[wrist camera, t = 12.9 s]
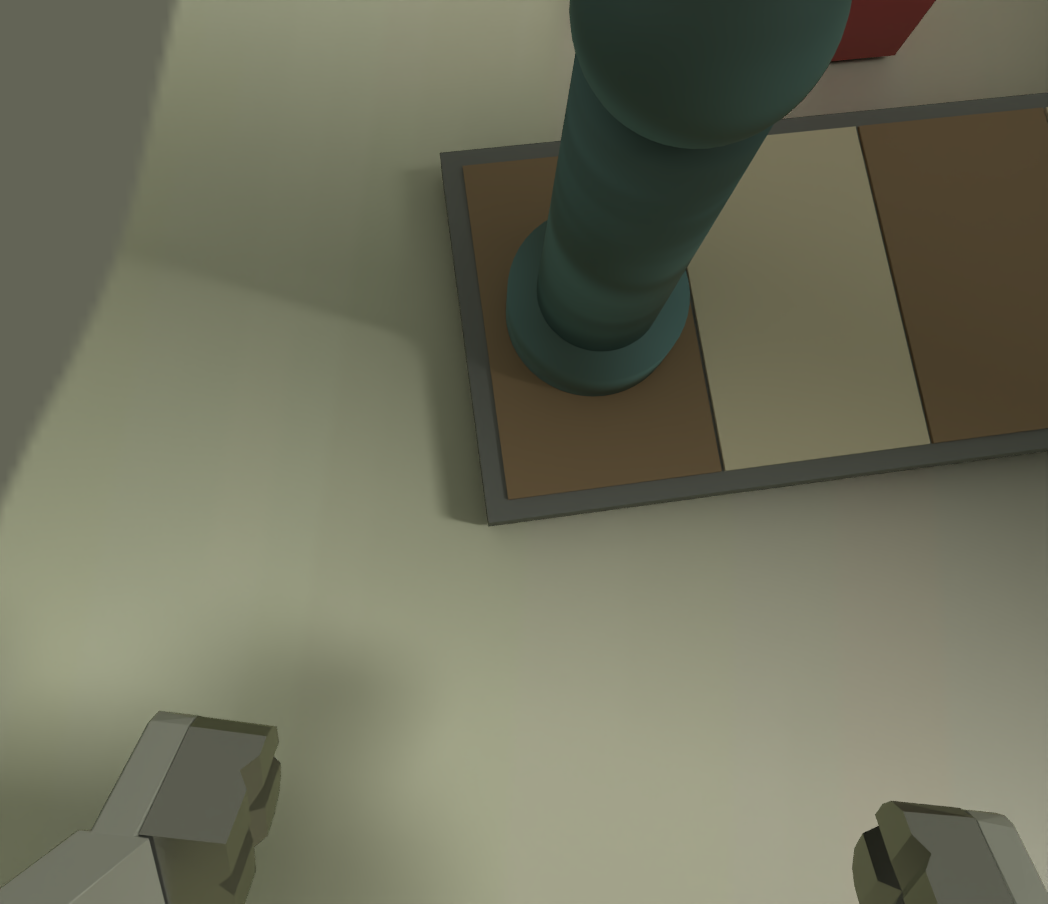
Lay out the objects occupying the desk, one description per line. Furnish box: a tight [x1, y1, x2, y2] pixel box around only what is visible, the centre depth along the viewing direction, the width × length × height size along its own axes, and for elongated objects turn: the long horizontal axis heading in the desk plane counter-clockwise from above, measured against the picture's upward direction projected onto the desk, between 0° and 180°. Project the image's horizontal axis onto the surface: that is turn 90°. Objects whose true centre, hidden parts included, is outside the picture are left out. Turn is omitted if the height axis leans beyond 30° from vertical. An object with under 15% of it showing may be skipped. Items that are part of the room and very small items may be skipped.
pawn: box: [506, 0, 852, 397], centre depth 14 cm, size 4×4×12 cm
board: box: [440, 93, 1048, 526], centre depth 22 cm, size 23×10×1 cm, turn 98°
